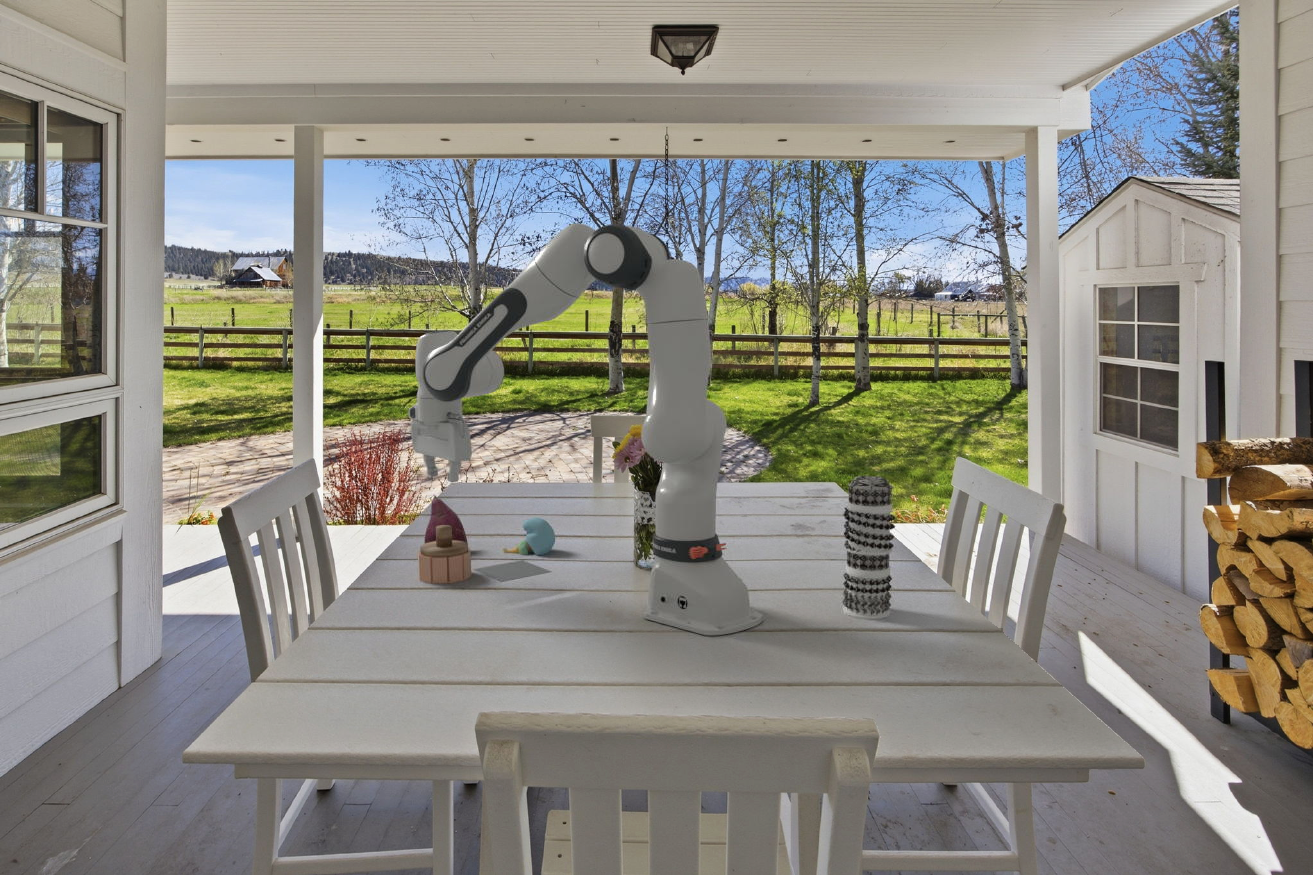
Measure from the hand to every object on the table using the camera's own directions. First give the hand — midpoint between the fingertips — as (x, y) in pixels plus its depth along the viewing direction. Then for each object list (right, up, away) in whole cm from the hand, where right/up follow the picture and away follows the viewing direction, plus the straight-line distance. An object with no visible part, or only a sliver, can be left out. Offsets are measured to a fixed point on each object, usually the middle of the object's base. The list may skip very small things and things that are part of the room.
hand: (442, 478), depth 182 cm
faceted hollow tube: (0, -21, +3) cm, 21 cm away
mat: (+13, -21, +7) cm, 25 cm away
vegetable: (-5, -19, +24) cm, 31 cm away
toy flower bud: (+14, -19, +22) cm, 33 cm away
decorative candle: (+82, -24, -18) cm, 88 cm away
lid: (0, -15, +2) cm, 15 cm away
